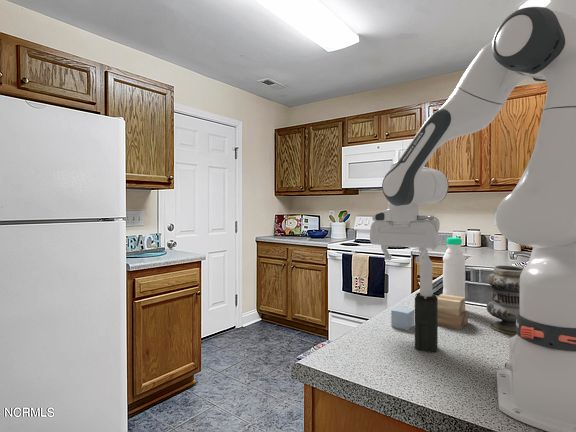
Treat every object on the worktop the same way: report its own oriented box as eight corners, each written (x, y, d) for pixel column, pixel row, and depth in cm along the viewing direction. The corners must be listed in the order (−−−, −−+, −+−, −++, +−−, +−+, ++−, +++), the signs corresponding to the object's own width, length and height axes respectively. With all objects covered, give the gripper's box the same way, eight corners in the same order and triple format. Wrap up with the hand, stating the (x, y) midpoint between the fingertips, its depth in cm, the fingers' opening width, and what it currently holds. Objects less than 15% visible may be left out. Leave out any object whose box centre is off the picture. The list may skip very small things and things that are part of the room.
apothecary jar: (503, 337, 94) (503, 271, 94) (477, 322, 106) (478, 264, 106) (546, 336, 95) (547, 270, 94) (516, 322, 107) (516, 263, 106)
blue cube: (407, 330, 101) (407, 313, 100) (391, 326, 104) (391, 310, 104) (414, 326, 104) (414, 309, 104) (398, 322, 108) (398, 306, 108)
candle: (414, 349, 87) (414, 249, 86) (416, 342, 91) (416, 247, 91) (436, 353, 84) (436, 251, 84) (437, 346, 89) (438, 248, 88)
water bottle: (438, 308, 122) (438, 237, 121) (452, 306, 125) (452, 236, 124) (455, 314, 115) (455, 238, 115) (470, 311, 118) (470, 238, 118)
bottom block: (460, 330, 101) (460, 316, 101) (432, 324, 106) (432, 311, 106) (467, 323, 107) (467, 310, 107) (440, 318, 112) (440, 305, 112)
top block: (458, 315, 102) (458, 302, 101) (434, 311, 106) (434, 298, 106) (465, 310, 107) (465, 297, 107) (441, 306, 111) (441, 294, 111)
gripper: (443, 215, 99) (442, 263, 99) (376, 214, 112) (376, 257, 113) (435, 216, 94) (435, 266, 95) (367, 215, 108) (367, 259, 108)
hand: (403, 261), depth 104 cm, fingers open, 8 cm apart
